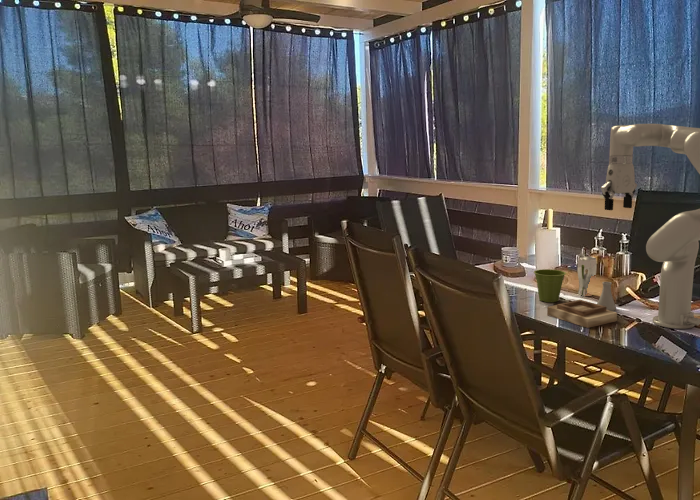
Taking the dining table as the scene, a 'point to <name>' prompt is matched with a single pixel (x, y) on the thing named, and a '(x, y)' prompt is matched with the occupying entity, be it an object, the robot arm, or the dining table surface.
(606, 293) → the flask
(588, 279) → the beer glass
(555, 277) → the plant pot
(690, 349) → the dining table surface
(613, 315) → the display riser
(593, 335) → the dining table surface
